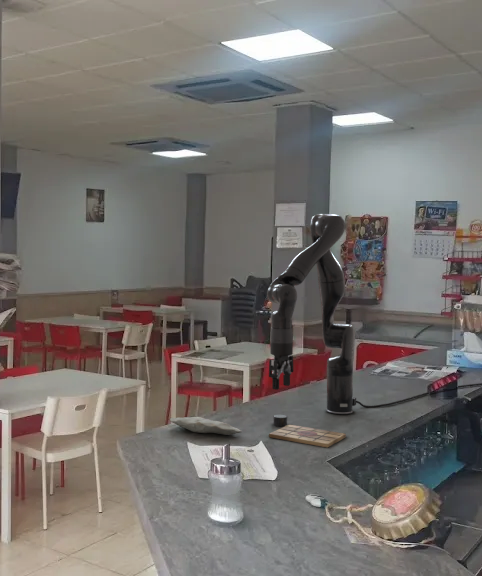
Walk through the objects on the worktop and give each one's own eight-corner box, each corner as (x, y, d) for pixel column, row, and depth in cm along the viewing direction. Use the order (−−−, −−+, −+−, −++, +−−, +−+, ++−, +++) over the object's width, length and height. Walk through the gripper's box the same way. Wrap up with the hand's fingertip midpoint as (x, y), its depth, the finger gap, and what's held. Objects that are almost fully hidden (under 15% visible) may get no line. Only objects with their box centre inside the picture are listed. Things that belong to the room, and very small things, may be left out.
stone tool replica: (163, 427, 242) (230, 438, 228) (165, 412, 243) (232, 422, 228) (184, 429, 254) (249, 439, 240) (186, 414, 255) (251, 424, 241)
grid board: (289, 427, 247) (289, 424, 247) (345, 437, 234) (345, 433, 234) (268, 437, 235) (268, 433, 235) (327, 447, 223) (327, 443, 223)
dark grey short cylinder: (277, 422, 254) (277, 413, 254) (289, 424, 251) (289, 415, 251) (271, 425, 250) (271, 416, 250) (283, 427, 247) (283, 418, 247)
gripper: (282, 344, 240) (282, 392, 241) (300, 339, 251) (300, 385, 252) (262, 342, 244) (261, 389, 245) (280, 338, 256) (280, 383, 257)
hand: (281, 387), depth 249 cm, fingers open, 8 cm apart
